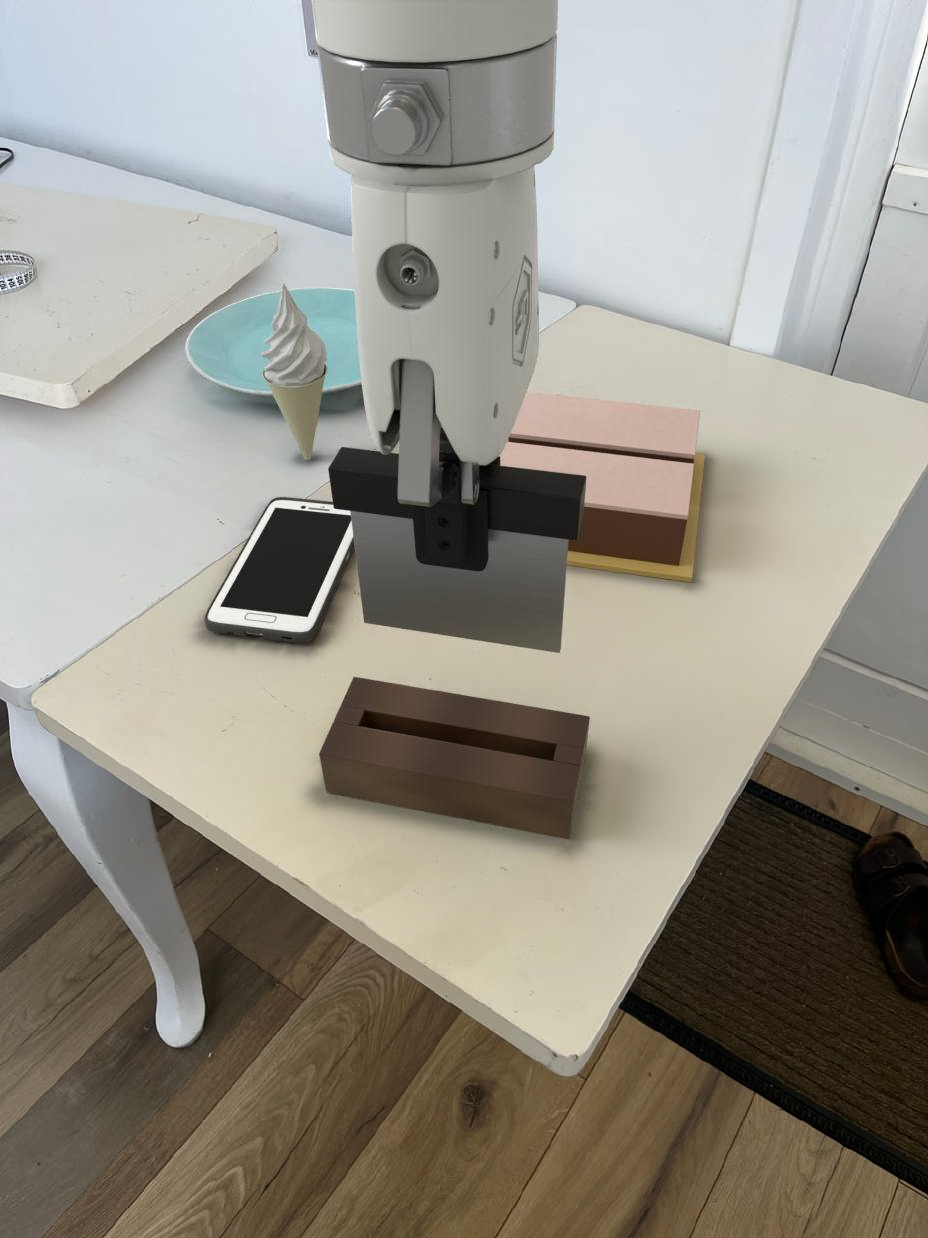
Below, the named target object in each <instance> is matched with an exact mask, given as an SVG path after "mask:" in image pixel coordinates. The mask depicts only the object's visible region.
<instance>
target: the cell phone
mask: <svg viewBox="0 0 928 1238" xmlns="http://www.w3.org/2000/svg"><path fill="white" fill-rule="evenodd" d="M354 550H355V545H354V537H353V529H352V521H351V513H350V511H347V510H339V509H334V507H333V501H331V500H320V499H311V498H299V497H292V496H277V497H273V498H272V499H271V500H270V501H269V502H268V504H267V505H266V506H265V508H264V510H263V511H262V513H261V515H260V517H259V519H258V520H257V522H256V524H255V526H254V527H253V529H252V531H251V532H250V534H249V536H248V538H247V540H246V542H245V543H244V545H243V546H242V547H241V550H240V552H239V553H238V554H237V557H236V559H235V560H234V562H233V564H232V565H231V568H230V569H229V570H228V573H227V574H226V576H225V578H224V580H223V581H222V583H221V585H220V587H219V588H218V590H217V592H216V593H215V595H214V597H213V599H212V601H211V602H210V604H209V606H208V607H207V610H206V612H205V615H204V618H203V619H204V625H205V628H206V629H207V630H209V632H210V631H211V632H213V633H218V634H224V635H229V634H232V635H234V636H242V637H247V636H248V635H249V636H255V637H263V639H266V640H272V641H273V640H274V641H281V642H289V643H297V644H299V643H300V644H301V643H302V644H304V643H308V642H310V641H312V640H313V639H314V638H315V636H316V634H317V633H318V631H319V630H320V627H321V625H322V622H323V621H324V619H325V616H326V613H327V611H328V608H329V606H330V604H331V602H332V600H333V597H334V595H335V592H336V590H337V588H338V585H339V583H340V581H341V579H342V577H343V574H344V572H345V570H346V567H347V565H348V560H349V557H350V556H351V555H352V554H353V551H354Z"/></svg>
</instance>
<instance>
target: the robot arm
mask: <svg viewBox="0 0 928 1238" xmlns="http://www.w3.org/2000/svg"><path fill="white" fill-rule="evenodd" d="M311 8H312V17H313V24H314V32H315V40H316V42H317V44H316V50H317V51H316V52H317V59H318V67H319V74H320V75H319V76H320V84H321V92H322V93H321V94H322V101H323V107H324V108H323V109H324V118H325V127H326V133H327V134H326V135H327V140H328V142H327V143H328V148H329V149H328V150H329V151H328V152H329V158H330V160H331V162H332V164H333V165H334V166H335V167H337V168H338V169H339V170H341V171H343V172H344V173H347V174H349V175H351V177H350V198H351V199H350V201H351V203H350V204H351V243H352V246H351V247H352V268H353V290H354V292H355V309H356V324H357V338H358V351H359V362H360V372H361V382H362V385H361V388H362V389H361V391H362V398H363V404H364V411H365V417H366V423H367V427H368V432H369V436H370V439H371V442H372V444H373V445H374V447H375V448H376V449H377V451H380V452H381V453H382V454H384V455H387V454H389V453H393V451H394V449H395V448H396V447H397V445H398V453H399V465H398V502H399V503H401V504H410V505H412V516H413V528H414V540H415V551H416V559H417V560H418V561H419V562H420V563H422V564H425V565H432V566H440V567H447V568H455V569H463V570H471V571H483V570H484V569H485V568H486V565H487V562H488V559H489V557H488V503H487V491H481V490H479V487H480V480H479V465H488V464H492V465H500V457H499V456H500V454H501V452H502V451H503V449H504V447H505V445H506V443H507V442H508V438H509V436H510V433H511V431H512V428H513V426H514V423H515V421H516V418H517V416H518V413H519V411H520V408H521V405H522V403H523V400H524V397H525V395H526V392H528V389H529V387H530V383H531V381H532V378H533V375H534V372H535V370H536V365H537V362H538V357H539V349H540V309H539V308H540V307H539V306H540V305H539V304H540V303H539V302H540V301H539V253H538V245H539V244H538V208H537V186H536V172H535V171H536V170H535V166H536V165H540V164H542V163H543V162H544V161H546V159H548V158H549V157H550V156H551V155H552V152H553V150H554V148H555V147H554V146H555V121H556V119H555V118H556V116H555V115H556V87H557V85H556V84H557V54H558V53H557V47H558V34H557V32H558V21H559V19H558V17H559V16H558V15H559V0H311ZM439 458H441V459H450V460H458V461H459V467H460V469H459V468H458V467H457V466H456V464H453V463H444V462H439Z"/></svg>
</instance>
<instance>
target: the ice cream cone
mask: <svg viewBox="0 0 928 1238" xmlns="http://www.w3.org/2000/svg"><path fill="white" fill-rule="evenodd" d="M281 290H282V292H281V296H280V299H279V303H278V307H277V310H276V312H275V315H274V317H273V318H274V320H273V322H272V326H273V330H274V333H273V334H272V335H271V336H270V337H269V338H267V339H266V340H264V343H266V344H268V345H270V349H269V350H267V351H264V352H262V353H261V355H262V357H263V358H268V360H270V362H269V363H268V365H267V366H266V367H264V369H263V372H262V376H263V378H264V380H265V381H266V382H267V383H268V385H269V387H270V389H271V391H272V393H273V396H274V397H273V396H272V397H273V398H274V400H275V402H276V404H277V406H278V408H279V410H280V412H281V414H282V416H283V418H284V420H285V422H286V424H287V426H288V428H289V430H290V432H291V434H292V436H293V438H294V441H295V442H296V445H297V447H298V448H299V451H300V453H301V455H302V456H303V459H304V461H308V462H309V461H311V459H312V455H313V449H314V443H315V438H316V432H317V425H318V421H319V413H320V409H321V408H320V406H321V401H322V396H323V395H322V390H323V384H324V379H325V375H326V373H327V370H328V369H327V365H326V364H325V361H326V360H327V357H326V356H327V354H326V347H325V343H324V342H323V341H322V339H321V338H320V337H319V336H318V335H317V334H316V332H315V331H313V330H311V329H310V328H309V327H308V325H307V316H306V315H305V314H304V313H303V312H302V311H301V310H300V309H299V308H298V307H297V305H296V304H295V302H294V300H293V298H292V297H291V295H290V293H289V291H288V288H287V286H286V284H285V283H283V284H282V289H281Z"/></svg>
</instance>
